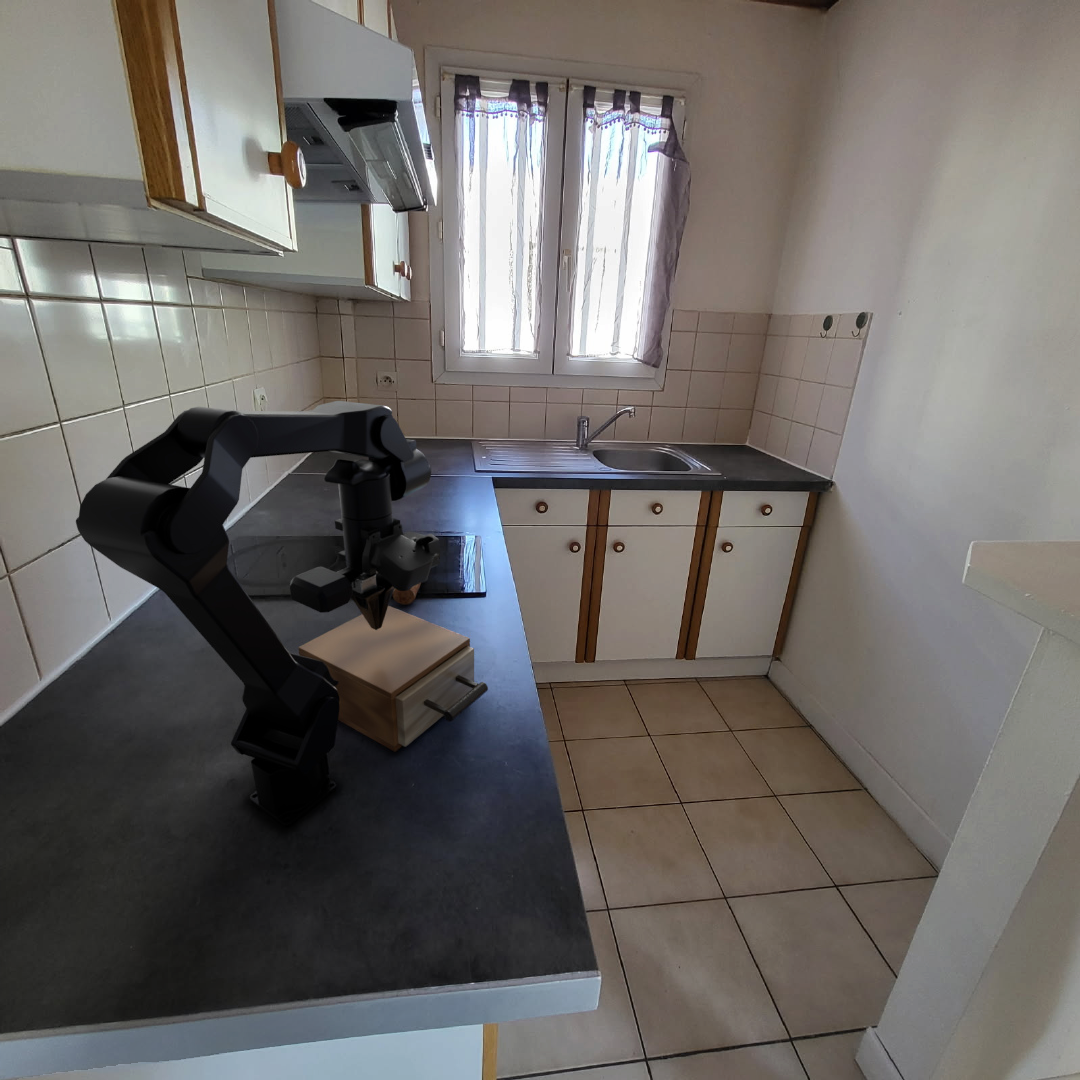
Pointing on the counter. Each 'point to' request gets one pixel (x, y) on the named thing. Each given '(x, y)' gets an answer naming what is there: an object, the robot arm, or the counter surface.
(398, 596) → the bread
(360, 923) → the counter surface
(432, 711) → the drawer
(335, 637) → the cabinet
